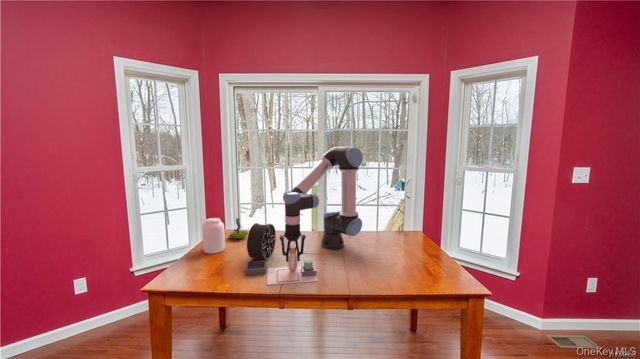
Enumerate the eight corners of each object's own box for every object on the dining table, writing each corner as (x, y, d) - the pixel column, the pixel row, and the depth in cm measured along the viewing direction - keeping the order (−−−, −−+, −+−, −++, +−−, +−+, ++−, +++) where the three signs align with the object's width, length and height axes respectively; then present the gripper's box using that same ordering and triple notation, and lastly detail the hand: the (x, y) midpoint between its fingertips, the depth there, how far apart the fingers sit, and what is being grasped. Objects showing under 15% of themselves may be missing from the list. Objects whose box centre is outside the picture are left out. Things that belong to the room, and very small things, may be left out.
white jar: (207, 255, 159) (206, 223, 156) (200, 249, 168) (199, 218, 166) (228, 250, 167) (227, 219, 164) (220, 245, 176) (219, 215, 174)
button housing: (314, 269, 141) (314, 264, 140) (315, 275, 134) (315, 270, 134) (300, 270, 140) (300, 265, 139) (302, 276, 133) (302, 271, 132)
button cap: (311, 267, 139) (311, 260, 139) (313, 271, 135) (313, 263, 134) (303, 268, 138) (303, 260, 138) (304, 272, 134) (304, 264, 134)
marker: (295, 268, 140) (295, 246, 139) (296, 271, 137) (296, 248, 136) (289, 268, 140) (289, 246, 138) (289, 271, 137) (289, 249, 135)
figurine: (231, 235, 196) (230, 215, 194) (249, 234, 197) (248, 214, 195) (226, 241, 182) (226, 220, 180) (246, 241, 183) (245, 219, 181)
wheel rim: (262, 265, 147) (262, 229, 144) (247, 263, 148) (246, 228, 146) (275, 251, 166) (275, 219, 164) (262, 250, 168) (261, 219, 165)
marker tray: (266, 265, 146) (266, 260, 146) (265, 274, 136) (265, 268, 136) (247, 266, 145) (247, 261, 144) (245, 275, 135) (245, 269, 135)
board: (312, 266, 146) (312, 264, 146) (317, 281, 129) (317, 280, 129) (268, 269, 142) (268, 267, 142) (266, 285, 125) (266, 284, 125)
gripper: (307, 220, 140) (307, 263, 143) (276, 221, 138) (277, 265, 141) (309, 224, 133) (309, 269, 136) (276, 225, 131) (277, 271, 133)
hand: (292, 267), depth 138 cm, fingers closed on marker, 3 cm apart
